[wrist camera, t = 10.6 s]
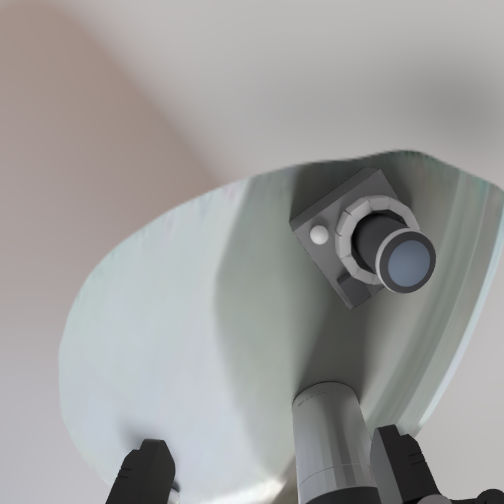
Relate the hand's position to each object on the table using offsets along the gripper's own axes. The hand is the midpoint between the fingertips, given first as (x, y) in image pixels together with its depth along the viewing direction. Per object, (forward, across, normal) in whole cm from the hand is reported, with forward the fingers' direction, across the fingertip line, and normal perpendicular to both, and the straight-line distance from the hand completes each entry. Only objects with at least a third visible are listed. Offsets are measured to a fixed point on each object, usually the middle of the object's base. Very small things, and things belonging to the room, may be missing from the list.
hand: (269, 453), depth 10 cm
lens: (+21, -10, -3) cm, 23 cm away
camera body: (+26, -10, -2) cm, 27 cm away
